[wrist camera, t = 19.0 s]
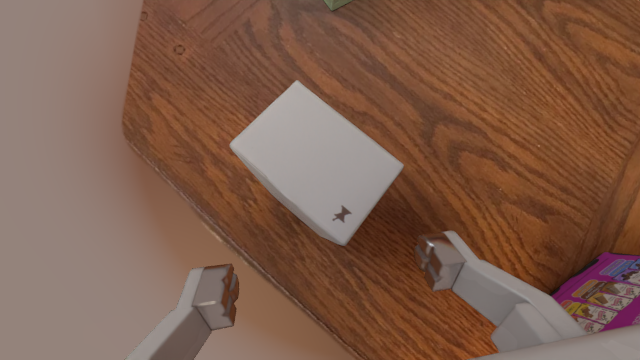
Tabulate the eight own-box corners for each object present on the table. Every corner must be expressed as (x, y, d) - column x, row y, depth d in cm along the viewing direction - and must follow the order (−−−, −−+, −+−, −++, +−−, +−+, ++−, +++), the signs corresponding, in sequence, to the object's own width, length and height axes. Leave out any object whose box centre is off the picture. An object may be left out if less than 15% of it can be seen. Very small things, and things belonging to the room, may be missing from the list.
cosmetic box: (350, 200, 21) (411, 167, 9) (320, 237, 20) (345, 253, 8) (299, 157, 21) (296, 73, 10) (268, 192, 21) (222, 146, 9)
